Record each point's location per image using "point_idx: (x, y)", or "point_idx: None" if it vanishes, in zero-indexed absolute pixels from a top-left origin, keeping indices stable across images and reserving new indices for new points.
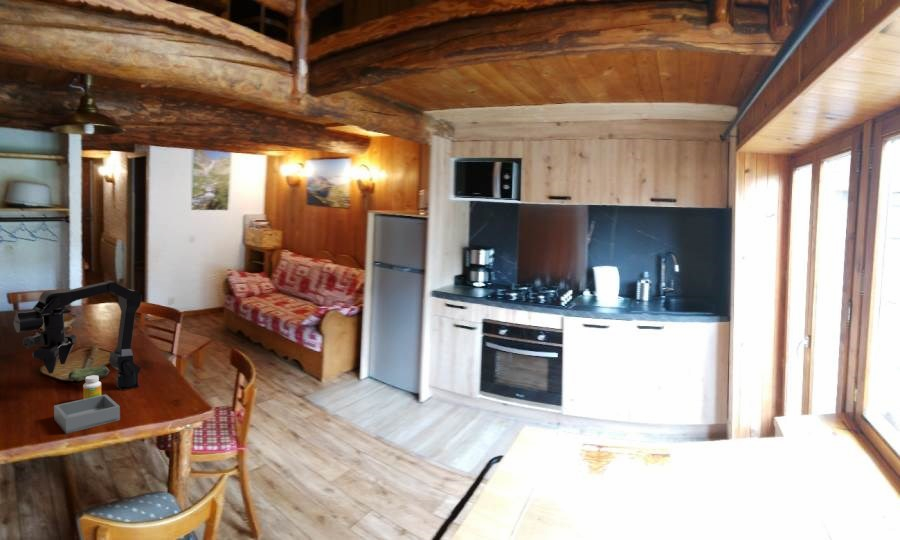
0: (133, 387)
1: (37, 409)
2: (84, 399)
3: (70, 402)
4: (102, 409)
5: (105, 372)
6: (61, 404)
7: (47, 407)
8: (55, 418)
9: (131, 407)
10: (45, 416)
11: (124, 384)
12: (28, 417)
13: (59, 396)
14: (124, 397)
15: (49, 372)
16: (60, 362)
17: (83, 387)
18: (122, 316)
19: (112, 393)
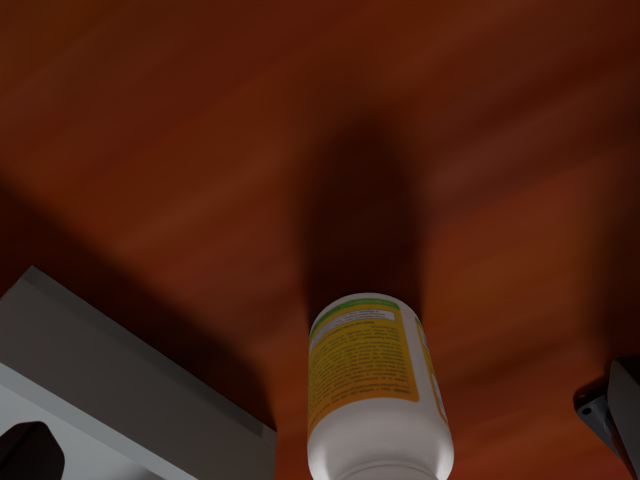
0: (609, 446)
1: (186, 13)
2: (148, 460)
3: (66, 413)
4: None
5: None
6: (9, 378)
7: (242, 76)
8: (3, 296)
9: None
10: (65, 174)
11: (619, 437)
12: (7, 51)
13: (525, 19)
14: None
15: (7, 449)
16: (636, 384)
17: (329, 413)
18: None
19: (529, 372)
